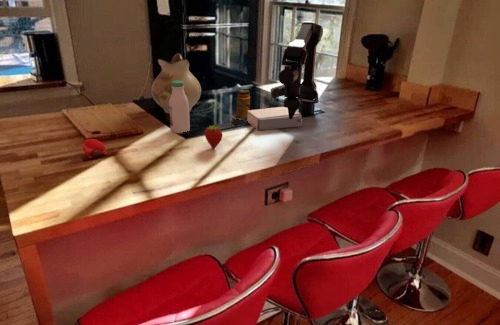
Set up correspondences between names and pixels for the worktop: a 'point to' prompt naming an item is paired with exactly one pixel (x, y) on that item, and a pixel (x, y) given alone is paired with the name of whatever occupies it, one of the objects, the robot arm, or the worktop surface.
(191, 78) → the pitcher
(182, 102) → the milk bottle
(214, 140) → the strawberry
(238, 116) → the condiment
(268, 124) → the door
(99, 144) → the cap
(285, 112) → the cabinet
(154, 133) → the worktop surface
